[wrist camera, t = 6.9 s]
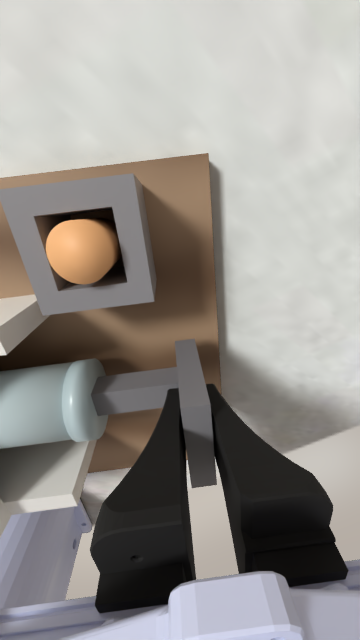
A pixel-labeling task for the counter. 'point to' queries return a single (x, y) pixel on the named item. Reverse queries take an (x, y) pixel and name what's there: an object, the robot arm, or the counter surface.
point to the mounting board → (137, 319)
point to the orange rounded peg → (83, 249)
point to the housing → (63, 297)
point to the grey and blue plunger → (106, 404)
